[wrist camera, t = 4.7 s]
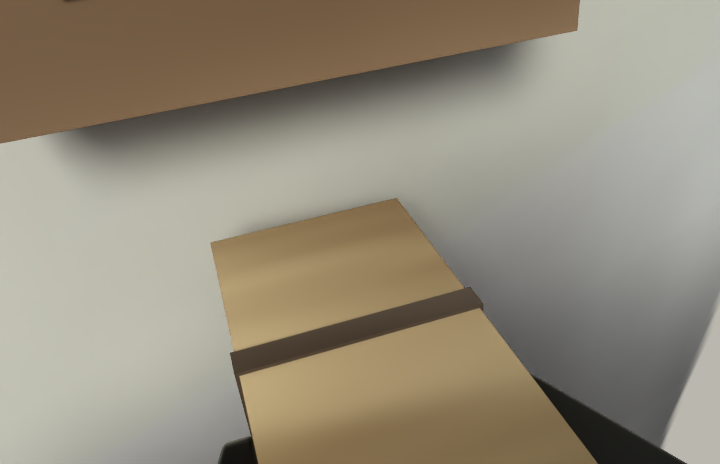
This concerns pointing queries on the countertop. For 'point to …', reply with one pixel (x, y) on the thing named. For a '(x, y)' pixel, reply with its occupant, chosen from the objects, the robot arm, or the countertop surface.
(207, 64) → the board
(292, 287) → the peg
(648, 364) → the countertop surface
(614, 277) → the countertop surface
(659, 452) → the robot arm
